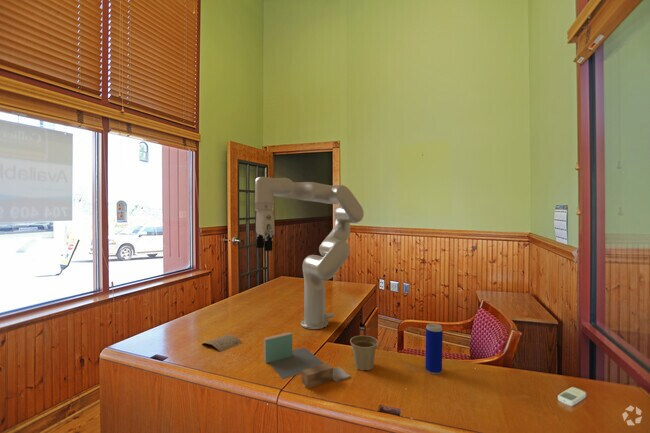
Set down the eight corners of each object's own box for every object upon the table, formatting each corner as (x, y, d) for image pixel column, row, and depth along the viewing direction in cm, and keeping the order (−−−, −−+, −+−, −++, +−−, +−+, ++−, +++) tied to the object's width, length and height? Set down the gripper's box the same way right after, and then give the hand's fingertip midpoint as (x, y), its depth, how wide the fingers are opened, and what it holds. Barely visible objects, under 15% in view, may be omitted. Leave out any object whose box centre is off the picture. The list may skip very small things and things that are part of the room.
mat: (304, 348, 119) (304, 347, 119) (326, 366, 105) (326, 365, 105) (264, 358, 110) (264, 357, 110) (282, 380, 97) (282, 379, 97)
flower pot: (346, 370, 103) (346, 344, 103) (353, 357, 112) (354, 333, 111) (374, 376, 100) (375, 349, 99) (380, 362, 108) (380, 337, 108)
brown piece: (338, 368, 104) (338, 356, 104) (350, 377, 99) (350, 365, 99) (299, 381, 97) (299, 368, 97) (309, 391, 91) (309, 378, 91)
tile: (290, 353, 113) (290, 331, 113) (292, 356, 112) (292, 333, 111) (263, 360, 108) (263, 337, 108) (265, 363, 106) (265, 339, 106)
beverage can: (441, 368, 105) (442, 323, 104) (442, 376, 100) (442, 329, 99) (425, 365, 106) (426, 321, 106) (425, 373, 101) (425, 327, 101)
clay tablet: (244, 346, 121) (244, 339, 121) (222, 356, 113) (222, 349, 113) (221, 337, 130) (221, 330, 130) (199, 345, 122) (199, 339, 121)
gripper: (281, 207, 122) (280, 251, 123) (265, 207, 137) (265, 246, 138) (262, 207, 119) (262, 252, 119) (249, 207, 133) (248, 247, 134)
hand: (264, 249), depth 128 cm, fingers open, 9 cm apart
